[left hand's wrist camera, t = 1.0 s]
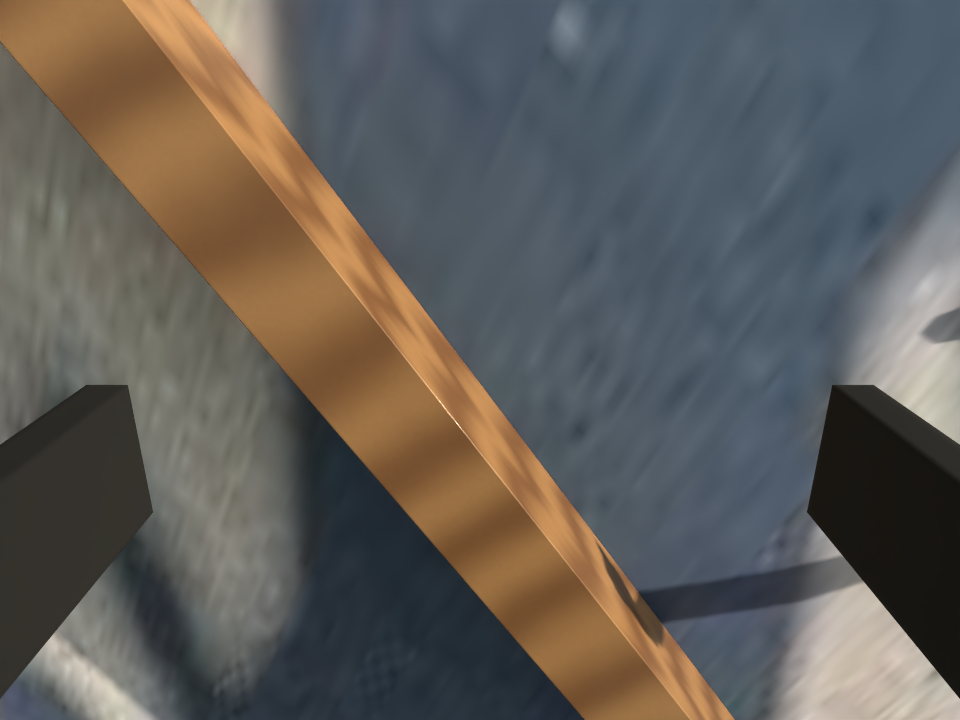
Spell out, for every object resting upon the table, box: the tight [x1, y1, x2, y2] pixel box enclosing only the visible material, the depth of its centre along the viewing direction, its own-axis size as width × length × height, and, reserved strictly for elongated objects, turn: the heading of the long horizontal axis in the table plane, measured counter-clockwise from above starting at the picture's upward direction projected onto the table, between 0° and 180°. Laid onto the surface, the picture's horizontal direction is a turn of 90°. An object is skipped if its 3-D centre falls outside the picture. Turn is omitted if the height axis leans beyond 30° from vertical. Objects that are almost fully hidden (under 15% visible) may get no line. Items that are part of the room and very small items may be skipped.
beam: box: [0, 0, 734, 720], centre depth 34 cm, size 72×5×8 cm, turn 35°
